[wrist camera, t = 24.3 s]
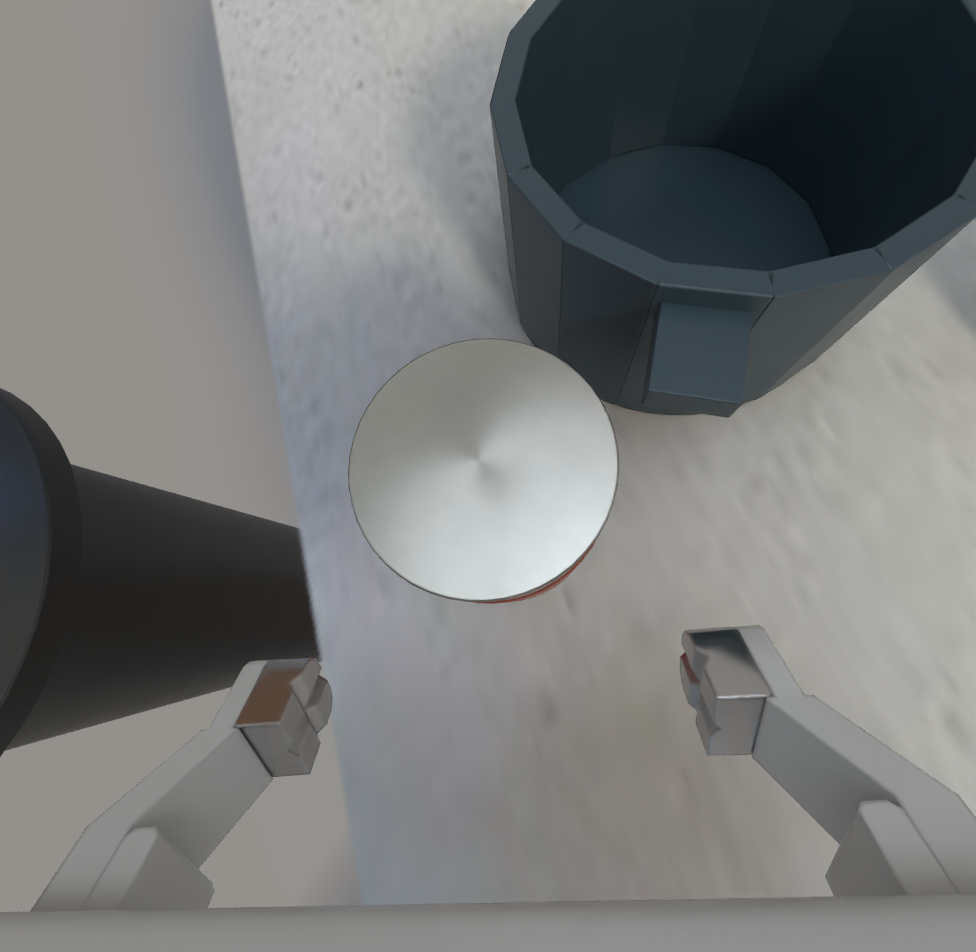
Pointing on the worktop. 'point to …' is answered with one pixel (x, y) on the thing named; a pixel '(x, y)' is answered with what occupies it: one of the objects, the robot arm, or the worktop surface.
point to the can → (484, 471)
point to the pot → (725, 181)
